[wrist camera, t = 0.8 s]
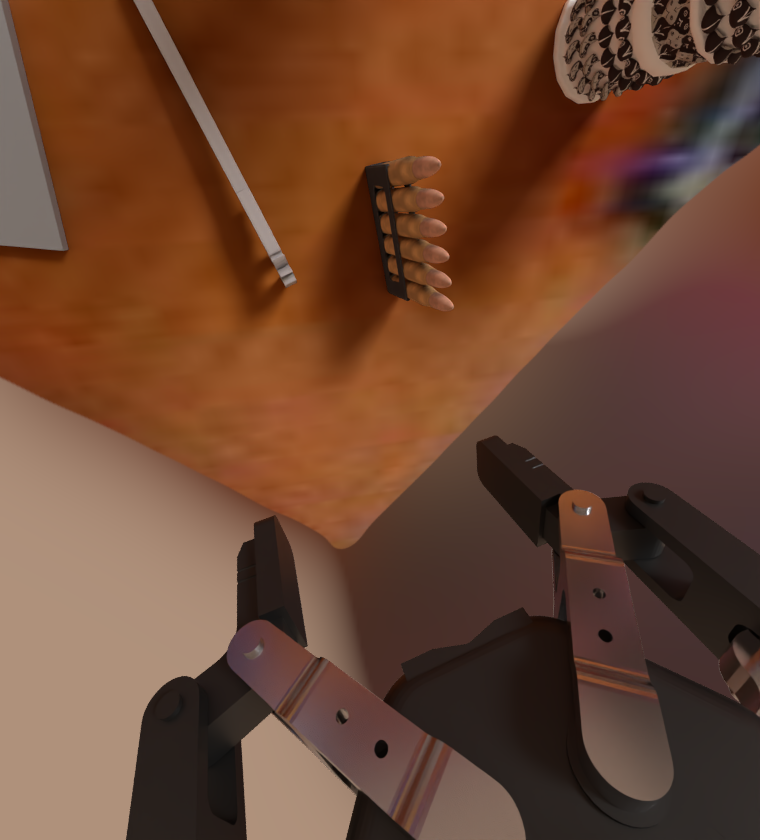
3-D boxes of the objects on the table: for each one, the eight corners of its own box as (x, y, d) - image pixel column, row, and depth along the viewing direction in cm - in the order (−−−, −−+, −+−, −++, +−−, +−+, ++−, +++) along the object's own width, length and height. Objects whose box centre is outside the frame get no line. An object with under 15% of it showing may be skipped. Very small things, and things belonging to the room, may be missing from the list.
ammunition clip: (405, 288, 37) (465, 316, 27) (388, 293, 37) (442, 324, 27) (385, 161, 31) (452, 141, 22) (364, 166, 31) (423, 147, 21)
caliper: (292, 276, 34) (302, 288, 29) (282, 281, 34) (290, 295, 28) (125, -51, 22) (90, -130, 17) (108, -44, 22) (68, -121, 17)
